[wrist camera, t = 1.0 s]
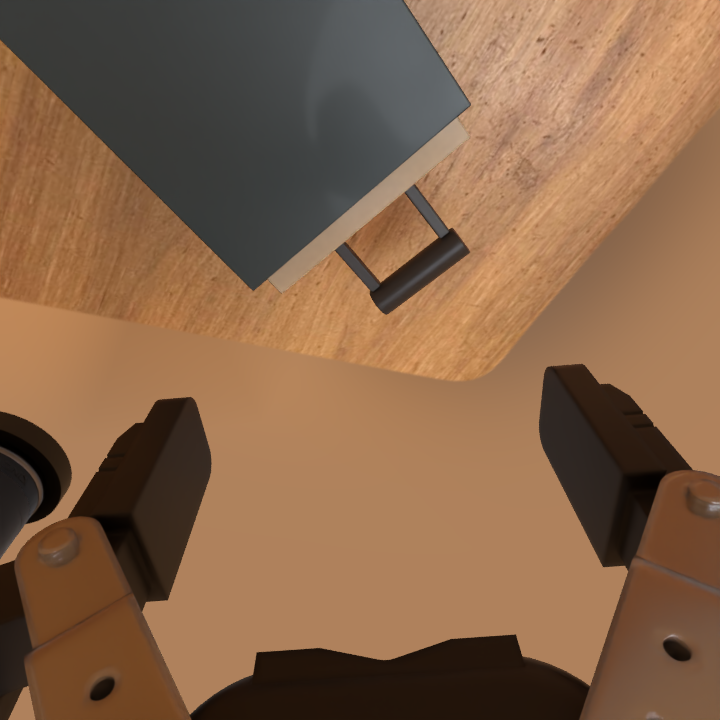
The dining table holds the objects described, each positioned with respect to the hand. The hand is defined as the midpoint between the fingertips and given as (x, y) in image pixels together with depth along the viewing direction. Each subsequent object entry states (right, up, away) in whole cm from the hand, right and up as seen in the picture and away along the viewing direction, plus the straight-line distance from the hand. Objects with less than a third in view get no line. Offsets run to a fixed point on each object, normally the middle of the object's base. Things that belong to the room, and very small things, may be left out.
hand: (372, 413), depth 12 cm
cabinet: (-5, +18, +17) cm, 25 cm away
